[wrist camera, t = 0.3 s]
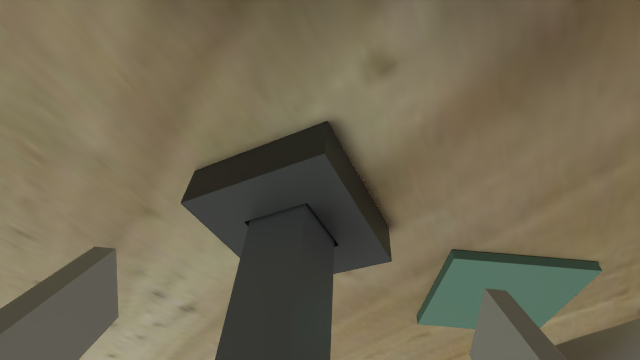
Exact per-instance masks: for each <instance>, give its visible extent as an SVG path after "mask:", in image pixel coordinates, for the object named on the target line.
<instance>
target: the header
mask: <svg viewBox="0 0 640 360" xmlns="http://www.w3.org/2000/svg"><path fill="white" fill-rule="evenodd" d="M306 203H308V205H309V206H310V207H311V209H312V210H313V211H314V213H315V214H316V215H317V217H318V218H319V219H320V221H321V222H322V223H323V225H324V226H325V227H326V229H327V230H328V231H329V233H330V234H331V235H332V237H333V238H334V239H335V241H334V268H333V274H335V273H340V272H345V271H349V270H354V269H359V268H363V267H368V266H372V265H377V264H382V263H386V262H391V261H392V259H391V248H390V238H389V228H388V227H387V225H386V223H385V221H384V220H383V218H382V216H381V215H380V213H379V211H378V209H377V208H376V206H375V204H374V202H373V201H372V199H371V197H370V195H369V194H368V192H367V190H366V188H365V187H364V185H363V183H362V182H361V180H360V178H359V176H358V175H357V173H356V171H355V169H354V168H353V166H352V164H351V162H350V161H349V159H348V157H347V155H346V154H345V152H344V150H343V149H342V147H341V145H340V143H339V142H338V140H337V138H336V136H335V135H334V133H333V131H332V129H331V128H330V126H329V124H328V122H324V123H321V124H319V125H316V126H313V127H311V128H308V129H305V130H303V131H300V132H298V133H295V134H292V135H290V136H287V137H284V138H282V139H279V140H276V141H274V142H271V143H268V144H266V145H263V146H260V147H258V148H255V149H252V150H250V151H247V152H245V153H242V154H239V155H237V156H234V157H231V158H229V159H226V160H223V161H221V162H218V163H215V164H213V165H210V166H207V167H205V168H202V169H199V170H197V171H195V172H194V174H193V176H192V178H191V181H190V183H189V185H188V187H187V190H186V192H185V194H184V196H183V199H182V201H181V204H182V205H183V206H184V207H185V208H186V209H187V210H189V211H190V212H191V213H192V214H193V215H194V216H195V217H196V218H197V219H198V220H199V221H200V222H202V223H203V224H204V225H205V226H206V227H207V228H208V229H209V230H210V231H211V232H212V233H213V234H215V235H216V236H217V237H218V238H219V239H220V240H221V241H222V242H223V243H224V244H225V245H227V246H228V247H229V248H230V249H231V250H232V251H233V252H234V253H235V254H236V255H237V256H238V257H240V258H241V254H242V250H243V246H244V242H245V238H246V234H247V230H248V226H249V222H250V220H252V219H255V218H259V217H262V216H265V215H269V214H272V213H275V212H279V211H282V210H285V209H289V208H292V207H296V206H299V205H302V204H306Z"/></svg>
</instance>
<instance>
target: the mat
mask: <svg viewBox="0 0 640 360" xmlns="http://www.w3.org/2000/svg"><path fill="white" fill-rule="evenodd" d="M601 272H602V270H601V268H600V266H599V264H598V262H591V261H580V260H568V259H556V258H544V257H532V256H520V255H508V254H496V253H484V252H473V251H461V250H452V251H451V253H450V254H449V256H448V258H447V260H446V262H445V264H444V266H443V268H442V269H441V271H440V273H439V275H438V277H437V279H436V281H435V283H434V284H433V286H432V288H431V290H430V292H429V294H428V296H427V298H426V299H425V301H424V303H423V305H422V307H421V309H420V311H419V313H418V315H417V323H418V324H422V325H434V326H445V327H457V328H469V329H475V328H476V324H477V320H478V315H479V311H480V307H481V302H482V298H483V294H484V290H485V288H487V289H496V290H506V291H507V292H508V293H509V294H510V295H511V296H512V298H513V299H514V300H515V301H516V302H517V303H518V304H519V306H520V307H521V308H522V309H523V310H524V311H525V312H526V314H527V315H528V316H529V317H530V318H531V319H532V320H533V322H534V323H535V324H536V325H537V326H538V327H539V328H540V327H541V326H543V325H544V324H545V323H546V322H547V321H548V320H549V319H550V318H551V317H552V316H554V315H555V314H556V313H557V312H558V311H559V310H560V309H561V308H562V307H563V306H565V305H566V304H567V303H568V302H569V301H570V300H571V299H572V298H573V297H574V296H576V295H577V294H578V293H579V292H580V291H581V290H582V289H583V288H584V287H585V286H587V285H588V284H589V283H590V282H591V281H592V280H593V279H594V278H595V277H596V276H597V275H599V274H600V273H601Z"/></svg>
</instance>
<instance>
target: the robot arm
mask: <svg viewBox="0 0 640 360" xmlns="http://www.w3.org/2000/svg"><path fill="white" fill-rule="evenodd" d="M117 318H118V293H117V264H116V249H113V248H104V247H93V248H92V249H90V250H89V251H87V252H86V253H84V254H83V255H81V256H80V257H78V258H76V259H75V260H73V261H72V262H70V263H69V264H67V265H66V266H64V267H63V268H61V269H60V270H58V271H57V272H55V273H54V274H52V275H51V276H49V277H48V278H46V279H45V280H43V281H42V282H40V283H39V284H37V285H36V286H34V287H33V288H31V289H30V290H28V291H27V292H25V293H24V294H22V295H21V296H19V297H18V298H16V299H15V300H13V301H12V302H10V303H9V304H7V305H6V306H4V307H2V308H1V309H0V360H78V359H79V358H80V357H81V356H82V355H83V354H84V353H85V352H86V351H87V350H88V349H89V348H90V347H91V346H92V345H93V343H94V342H95V341H96V340H97V339H98V338H99V337H100V336H101V335H102V334H103V333H104V332H105V331H106V330H107V329H108V327H109V326H110V325H111V324H112V323H113V322H114V321H115V320H116V319H117ZM469 355H470V357H471V359H472V360H566V358H565V357H564V356H563V355H562V354H561V353H560V351H559V350H558V349H557V348H556V347H555V346H554V345H553V343H552V342H551V341H550V340H549V339H548V338H547V337H546V335H545V334H544V333H543V332H542V331H541V330H540V329H539V327H538V326H537V325H536V324H535V323H534V322H533V320H532V319H531V318H530V317H529V316H528V315H527V314H526V312H525V311H524V310H523V309H522V308H521V307H520V306H519V304H518V303H517V302H516V301H515V300H514V299H513V298H512V296H511V295H510V294H509V293H508V292H507V291H506V290H496V289H487V288H485V290H484V294H483V298H482V302H481V307H480V311H479V315H478V320H477V324H476V328H475V333H474V337H473V341H472V346H471V350H470V354H469Z"/></svg>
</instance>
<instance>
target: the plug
mask: <svg viewBox="0 0 640 360" xmlns="http://www.w3.org/2000/svg"><path fill="white" fill-rule="evenodd" d="M334 241H335V239H334V238H333V237H332V235H331V234H330V233H329V231H328V230H327V229H326V227H325V226H324V225H323V223H322V222H321V221H320V219H319V218H318V217H317V215H316V214H315V213H314V211H313V210H312V209H311V207H310V206H309V205H308V203H306V204H302V205H299V206H296V207H292V208H289V209H285V210H282V211H279V212H275V213H272V214H269V215H265V216H262V217H259V218H255V219H252V220H250V222H249V226H248V230H247V234H246V238H245V242H244V246H243V250H242V254H241V258H240V262H239V266H238V270H237V274H236V278H235V282H234V286H233V290H232V294H231V298H230V302H229V306H228V310H227V314H226V318H225V322H224V326H223V330H222V334H221V338H220V342H219V346H218V350H217V354H216V358H215V360H330V348H331V321H332V294H333V268H334Z"/></svg>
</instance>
